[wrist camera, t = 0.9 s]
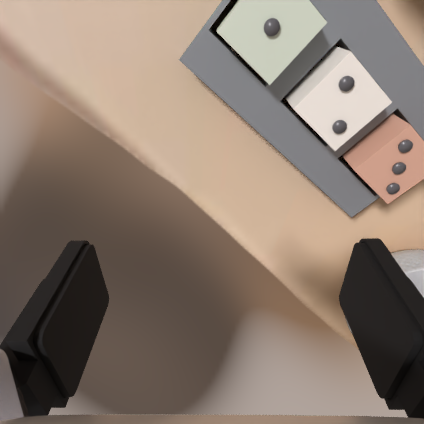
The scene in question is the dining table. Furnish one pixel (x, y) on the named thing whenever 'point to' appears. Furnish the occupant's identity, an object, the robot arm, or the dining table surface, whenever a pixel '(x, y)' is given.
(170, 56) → the dining table surface
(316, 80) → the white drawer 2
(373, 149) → the pink block
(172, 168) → the dining table surface
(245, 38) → the knob block
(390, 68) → the grey flat board
